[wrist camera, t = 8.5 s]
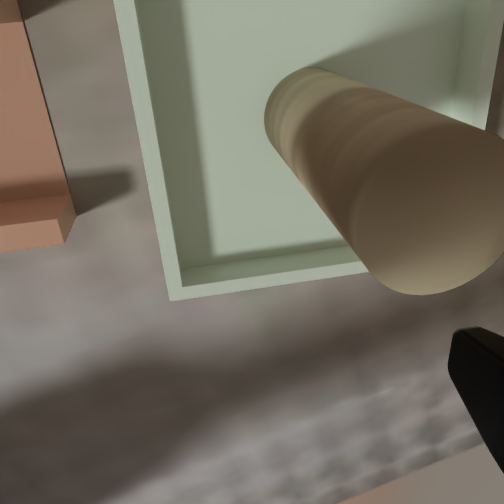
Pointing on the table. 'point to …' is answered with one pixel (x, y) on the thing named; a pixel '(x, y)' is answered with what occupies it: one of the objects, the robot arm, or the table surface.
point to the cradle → (27, 149)
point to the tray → (252, 118)
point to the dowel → (393, 178)
